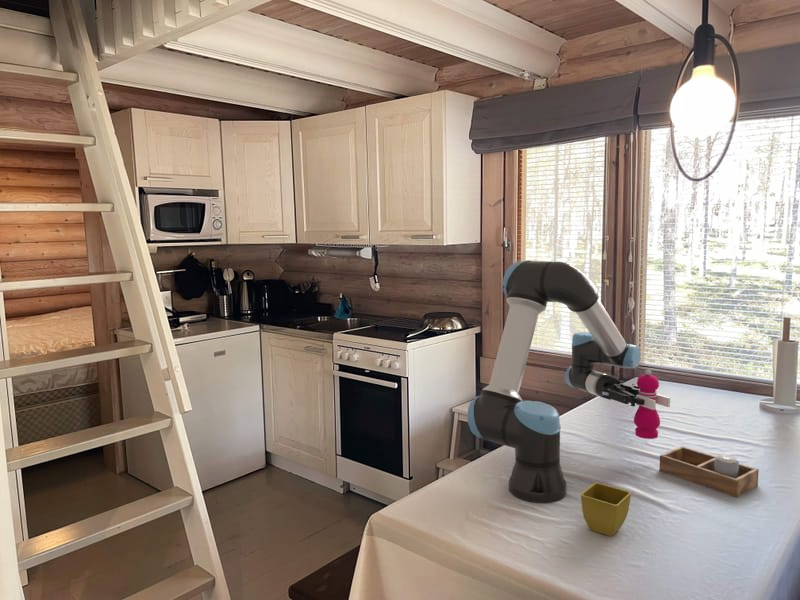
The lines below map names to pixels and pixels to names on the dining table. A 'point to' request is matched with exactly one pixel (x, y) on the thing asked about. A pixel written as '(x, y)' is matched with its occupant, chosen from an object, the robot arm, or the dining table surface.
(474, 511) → the dining table surface
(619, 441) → the dining table surface
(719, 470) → the salt jar
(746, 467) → the caddy
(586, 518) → the flower pot
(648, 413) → the pepper mill
